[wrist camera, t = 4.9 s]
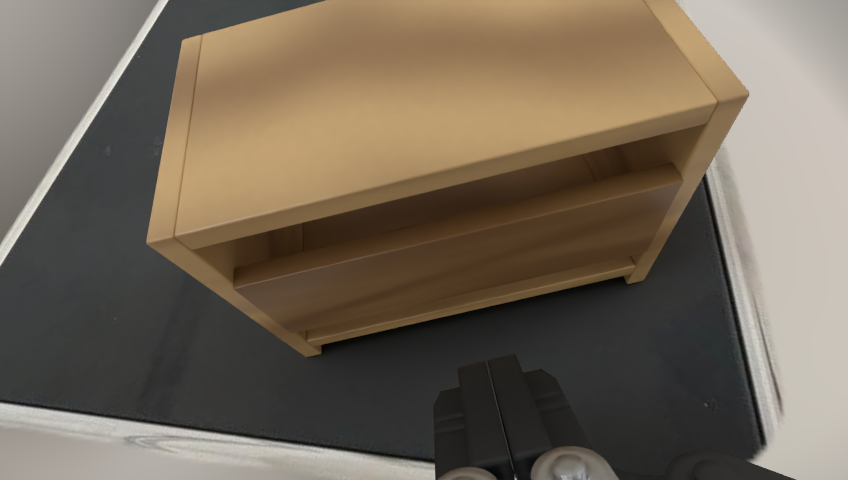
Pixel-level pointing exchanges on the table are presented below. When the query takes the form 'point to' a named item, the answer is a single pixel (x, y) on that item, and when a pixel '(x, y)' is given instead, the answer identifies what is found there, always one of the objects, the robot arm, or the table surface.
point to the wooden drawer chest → (433, 155)
